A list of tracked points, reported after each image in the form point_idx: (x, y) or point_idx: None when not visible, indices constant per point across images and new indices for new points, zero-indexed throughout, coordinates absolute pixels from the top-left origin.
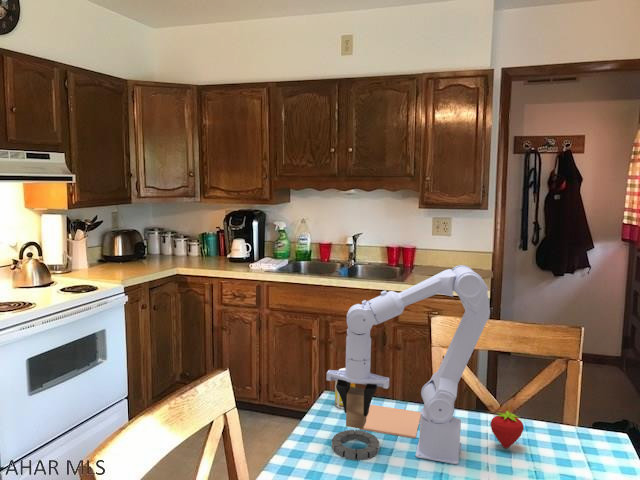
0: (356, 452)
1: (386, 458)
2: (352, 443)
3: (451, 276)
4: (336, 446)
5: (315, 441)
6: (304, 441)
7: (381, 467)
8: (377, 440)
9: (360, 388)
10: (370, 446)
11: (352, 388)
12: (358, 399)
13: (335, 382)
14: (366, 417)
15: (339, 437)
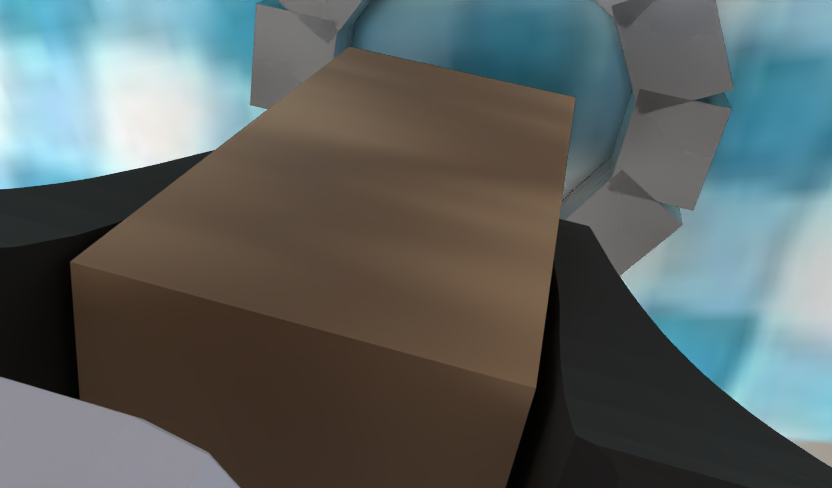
0: None
1: (764, 243)
2: (453, 14)
3: None
4: None
5: (126, 24)
6: (44, 36)
7: (694, 363)
8: (714, 64)
9: (335, 347)
10: (622, 189)
11: (136, 353)
12: None
13: None
14: (573, 114)
15: (311, 46)
